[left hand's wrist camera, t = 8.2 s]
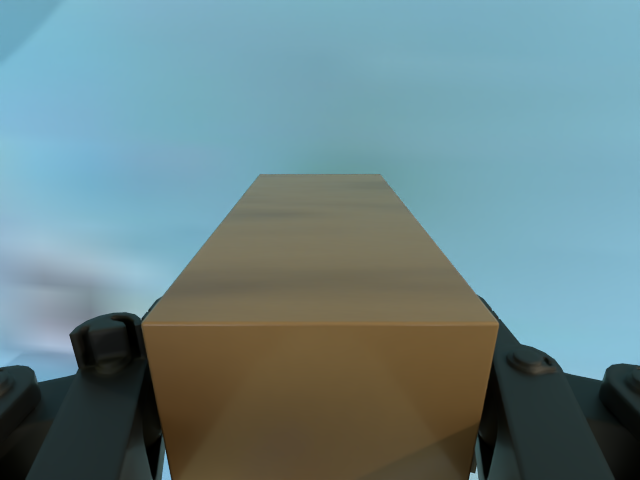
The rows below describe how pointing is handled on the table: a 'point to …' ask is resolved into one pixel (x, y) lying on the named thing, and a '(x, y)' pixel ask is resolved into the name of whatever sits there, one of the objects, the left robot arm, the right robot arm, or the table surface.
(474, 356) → the block
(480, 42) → the table surface
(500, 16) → the table surface
